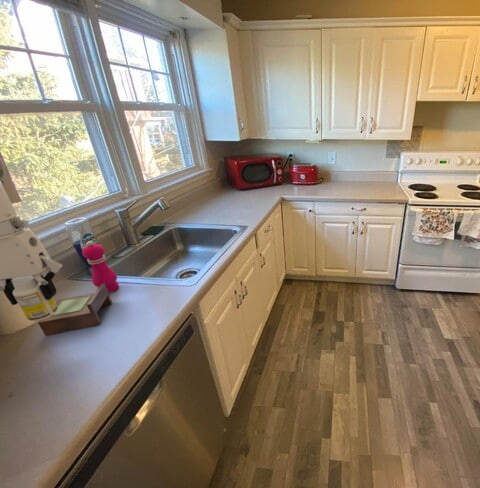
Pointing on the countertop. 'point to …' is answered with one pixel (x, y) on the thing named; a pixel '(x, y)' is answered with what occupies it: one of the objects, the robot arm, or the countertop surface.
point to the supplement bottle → (33, 299)
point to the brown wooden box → (76, 312)
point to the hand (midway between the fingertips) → (35, 298)
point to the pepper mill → (100, 267)
